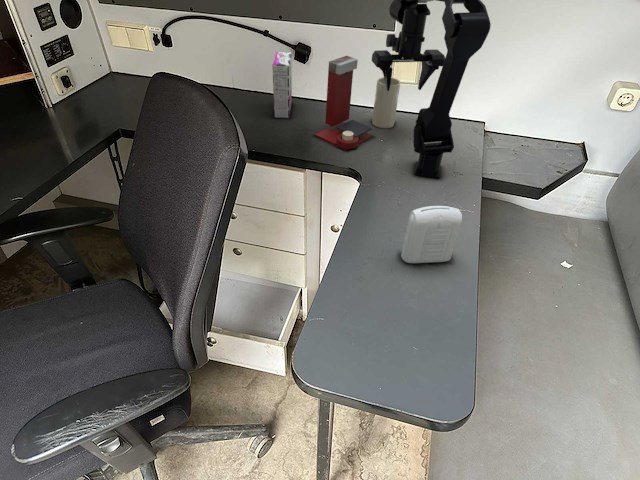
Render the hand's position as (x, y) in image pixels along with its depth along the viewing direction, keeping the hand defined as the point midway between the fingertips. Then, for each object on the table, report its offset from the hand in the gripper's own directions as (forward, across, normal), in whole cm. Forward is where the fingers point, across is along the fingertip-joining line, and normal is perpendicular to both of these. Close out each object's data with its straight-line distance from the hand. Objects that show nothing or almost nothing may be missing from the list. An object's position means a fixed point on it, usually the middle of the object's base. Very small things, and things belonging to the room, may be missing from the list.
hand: (403, 90), depth 131 cm
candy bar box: (+13, +31, -19) cm, 39 cm away
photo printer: (+14, +11, +54) cm, 57 cm away
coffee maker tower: (+11, +14, -1) cm, 18 cm away
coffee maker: (+13, +16, 0) cm, 21 cm away
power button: (+11, +16, +6) cm, 21 cm away
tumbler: (+13, +2, -8) cm, 15 cm away
